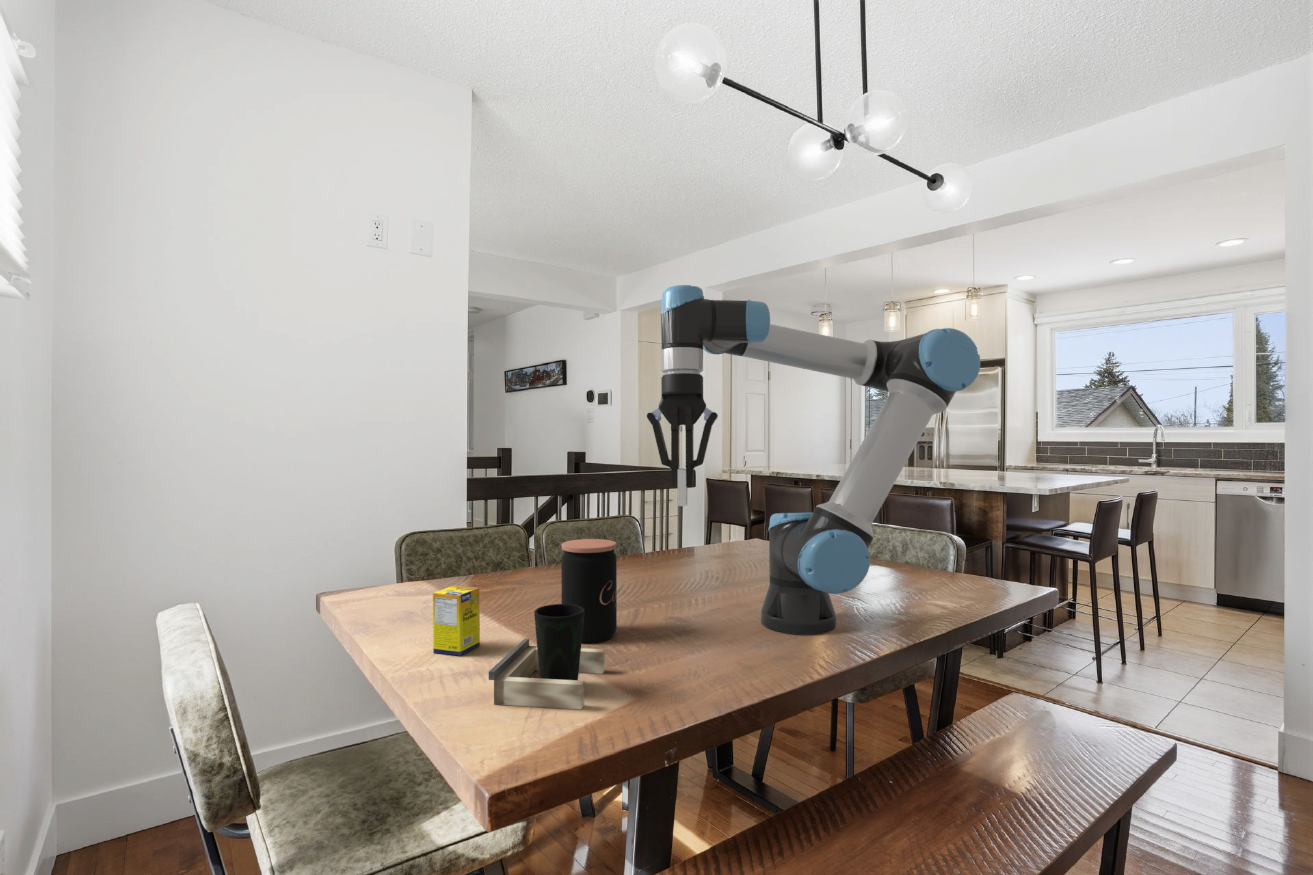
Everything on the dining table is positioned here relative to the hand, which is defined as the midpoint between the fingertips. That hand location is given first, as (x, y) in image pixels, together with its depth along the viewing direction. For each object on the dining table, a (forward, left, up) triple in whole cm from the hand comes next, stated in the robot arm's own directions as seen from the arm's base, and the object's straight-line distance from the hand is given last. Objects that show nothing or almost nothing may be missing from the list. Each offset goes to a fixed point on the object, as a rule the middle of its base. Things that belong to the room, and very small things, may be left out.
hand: (682, 505), depth 112 cm
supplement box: (+41, +4, -27) cm, 49 cm away
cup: (+17, +19, -27) cm, 37 cm away
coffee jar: (+19, -7, -27) cm, 33 cm away
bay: (+18, +18, -26) cm, 37 cm away
